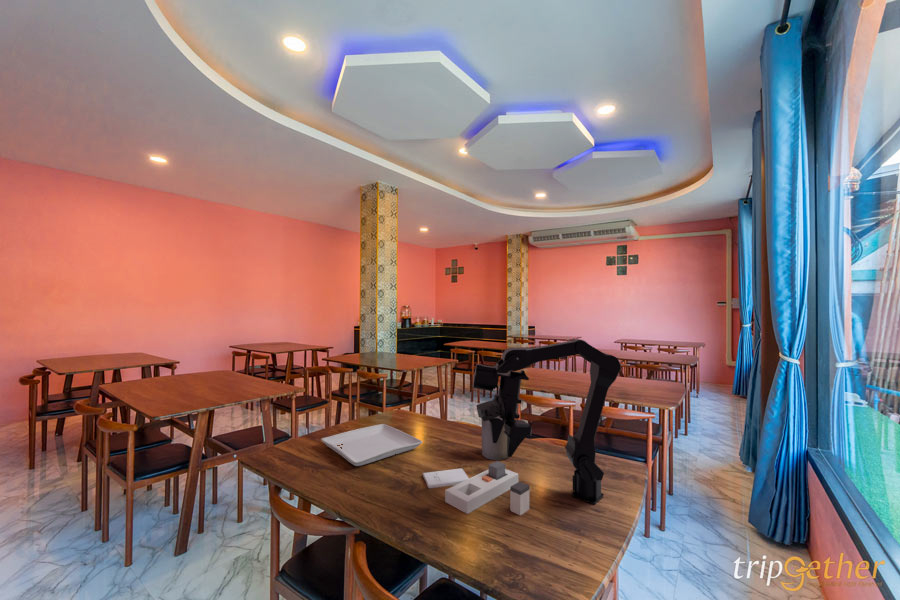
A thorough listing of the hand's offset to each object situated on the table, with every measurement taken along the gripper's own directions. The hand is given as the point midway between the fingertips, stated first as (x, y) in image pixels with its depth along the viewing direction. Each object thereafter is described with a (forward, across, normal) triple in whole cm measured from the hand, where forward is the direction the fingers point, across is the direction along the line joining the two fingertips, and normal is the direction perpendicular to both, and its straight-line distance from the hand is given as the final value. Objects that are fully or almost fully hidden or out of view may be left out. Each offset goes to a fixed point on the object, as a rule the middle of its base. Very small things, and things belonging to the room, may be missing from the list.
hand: (501, 449), depth 99 cm
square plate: (+18, -43, -29) cm, 55 cm away
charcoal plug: (+12, -4, +2) cm, 13 cm away
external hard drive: (+15, -12, -10) cm, 22 cm away
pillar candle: (+12, -24, +11) cm, 30 cm away
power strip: (+13, -2, -3) cm, 13 cm away
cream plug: (+12, +9, +2) cm, 15 cm away
